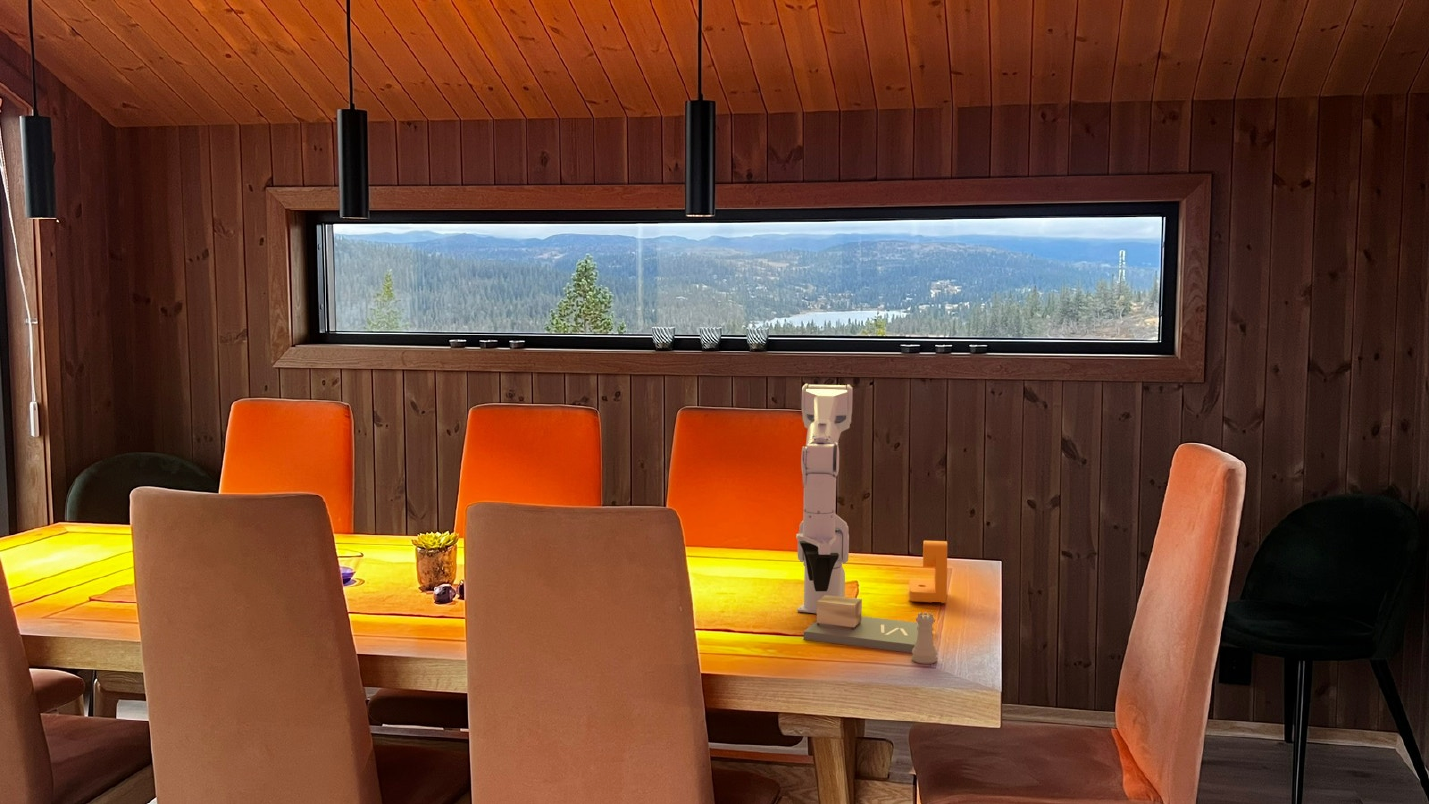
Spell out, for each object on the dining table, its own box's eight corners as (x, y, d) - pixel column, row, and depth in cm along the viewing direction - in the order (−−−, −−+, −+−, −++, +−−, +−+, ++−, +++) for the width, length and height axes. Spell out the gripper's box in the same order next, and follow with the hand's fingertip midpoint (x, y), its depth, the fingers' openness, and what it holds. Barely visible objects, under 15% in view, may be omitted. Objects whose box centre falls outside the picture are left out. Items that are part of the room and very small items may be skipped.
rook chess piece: (934, 666, 203) (936, 619, 202) (908, 662, 204) (909, 616, 204) (940, 658, 207) (941, 612, 206) (914, 655, 208) (915, 609, 208)
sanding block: (824, 618, 225) (825, 594, 225) (861, 623, 223) (861, 599, 222) (816, 625, 221) (817, 601, 220) (853, 630, 218) (854, 605, 218)
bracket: (909, 591, 253) (910, 534, 252) (944, 593, 252) (946, 536, 251) (909, 605, 242) (910, 545, 241) (946, 606, 241) (947, 547, 240)
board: (826, 620, 230) (826, 612, 230) (931, 632, 223) (931, 624, 222) (803, 639, 217) (803, 631, 217) (914, 653, 210) (914, 644, 210)
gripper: (792, 503, 223) (790, 575, 225) (802, 518, 209) (801, 596, 210) (830, 503, 224) (828, 575, 225) (843, 518, 209) (841, 595, 211)
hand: (818, 585), depth 218 cm, fingers open, 7 cm apart
